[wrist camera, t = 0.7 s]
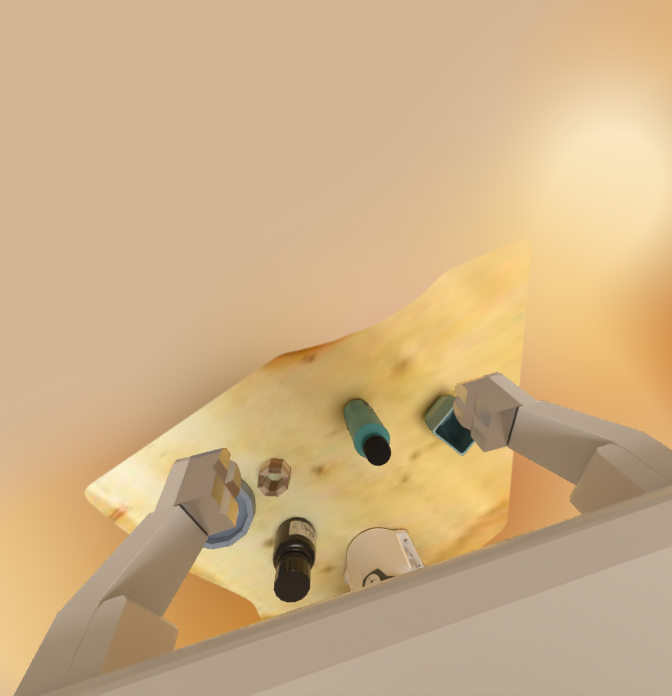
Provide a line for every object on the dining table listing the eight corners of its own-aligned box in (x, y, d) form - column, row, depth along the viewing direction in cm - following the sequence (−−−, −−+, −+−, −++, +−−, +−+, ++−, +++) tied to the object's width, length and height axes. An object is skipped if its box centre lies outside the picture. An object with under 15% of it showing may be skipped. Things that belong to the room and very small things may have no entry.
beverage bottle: (338, 419, 59) (351, 470, 39) (347, 392, 58) (365, 429, 38) (365, 427, 59) (391, 480, 40) (374, 400, 59) (406, 440, 39)
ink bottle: (323, 537, 61) (326, 590, 49) (292, 559, 61) (288, 617, 49) (299, 508, 60) (296, 554, 48) (267, 530, 60) (257, 582, 48)
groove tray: (269, 508, 59) (267, 518, 56) (213, 552, 59) (209, 563, 56) (223, 458, 57) (218, 465, 54) (165, 502, 57) (157, 512, 54)
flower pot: (441, 437, 61) (463, 457, 53) (414, 416, 60) (431, 432, 51) (464, 409, 61) (490, 423, 52) (438, 386, 60) (459, 398, 51)
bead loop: (295, 473, 59) (294, 483, 55) (273, 491, 59) (270, 501, 55) (277, 453, 58) (275, 461, 55) (255, 470, 58) (251, 480, 54)
